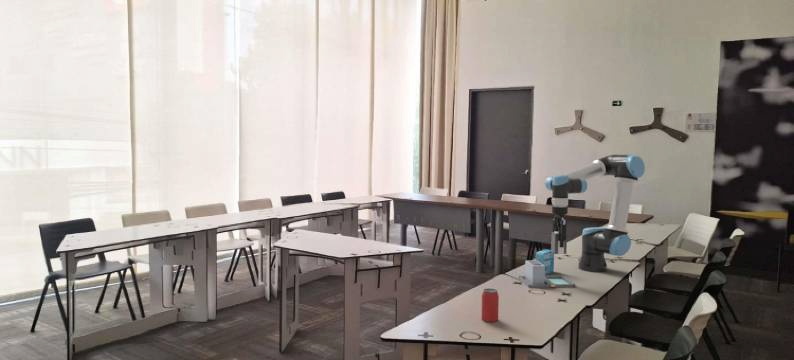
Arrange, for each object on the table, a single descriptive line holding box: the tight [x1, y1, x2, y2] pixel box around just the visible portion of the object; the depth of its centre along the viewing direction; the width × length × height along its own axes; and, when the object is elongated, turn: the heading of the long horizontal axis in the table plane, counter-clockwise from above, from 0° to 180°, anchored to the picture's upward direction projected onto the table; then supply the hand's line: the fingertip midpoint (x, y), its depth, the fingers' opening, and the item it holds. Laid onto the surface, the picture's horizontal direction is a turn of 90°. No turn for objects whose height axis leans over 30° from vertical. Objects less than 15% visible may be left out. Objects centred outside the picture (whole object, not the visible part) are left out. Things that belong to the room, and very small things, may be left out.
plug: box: [550, 232, 568, 255], centre depth 263 cm, size 6×5×10 cm
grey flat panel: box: [518, 275, 577, 289], centre depth 264 cm, size 23×18×2 cm
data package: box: [535, 248, 555, 275], centre depth 284 cm, size 12×4×12 cm, turn 136°
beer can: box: [481, 288, 500, 323], centre depth 210 cm, size 7×7×12 cm
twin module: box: [524, 259, 546, 285], centre depth 264 cm, size 6×12×10 cm, turn 3°
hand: (558, 252), depth 264 cm, fingers closed on plug, 5 cm apart
